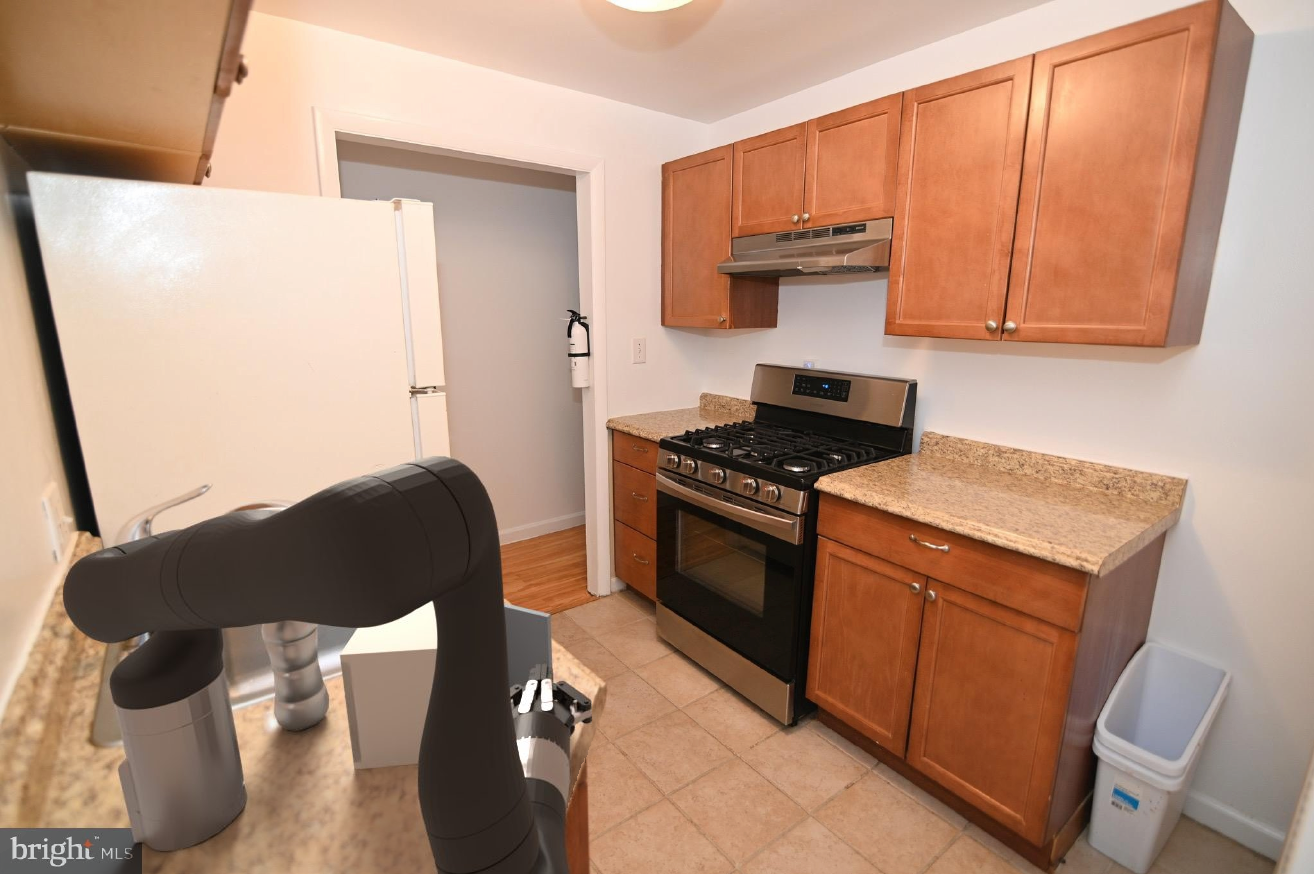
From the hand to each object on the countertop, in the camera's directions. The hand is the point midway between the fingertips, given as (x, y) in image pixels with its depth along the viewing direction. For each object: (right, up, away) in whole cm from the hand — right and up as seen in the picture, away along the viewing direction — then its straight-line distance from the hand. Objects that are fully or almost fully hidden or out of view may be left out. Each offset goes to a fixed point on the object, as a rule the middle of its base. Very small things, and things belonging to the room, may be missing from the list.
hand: (542, 669), depth 76 cm
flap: (-6, -8, +10) cm, 14 cm away
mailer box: (-18, -10, +5) cm, 21 cm away
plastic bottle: (-34, -10, +6) cm, 36 cm away
